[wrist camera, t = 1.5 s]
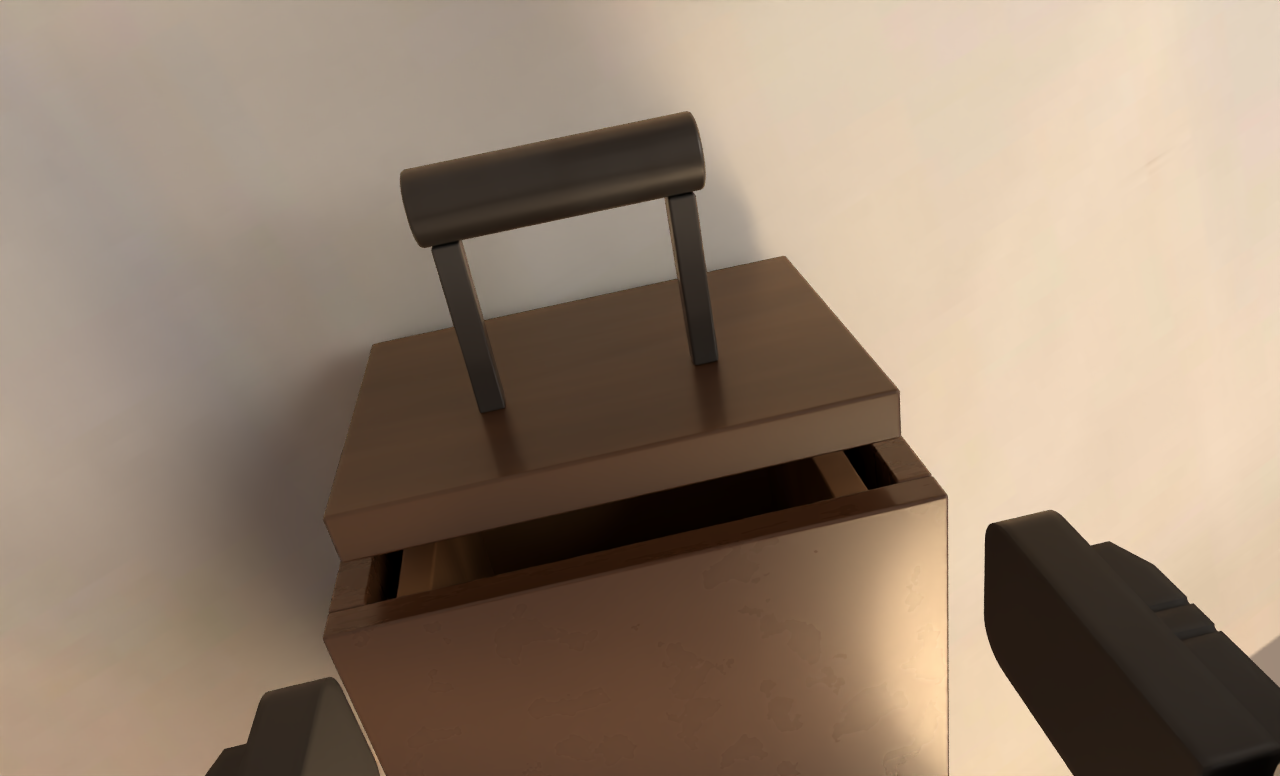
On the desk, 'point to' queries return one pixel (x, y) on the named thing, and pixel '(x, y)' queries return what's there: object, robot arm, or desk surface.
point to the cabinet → (674, 648)
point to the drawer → (595, 382)
